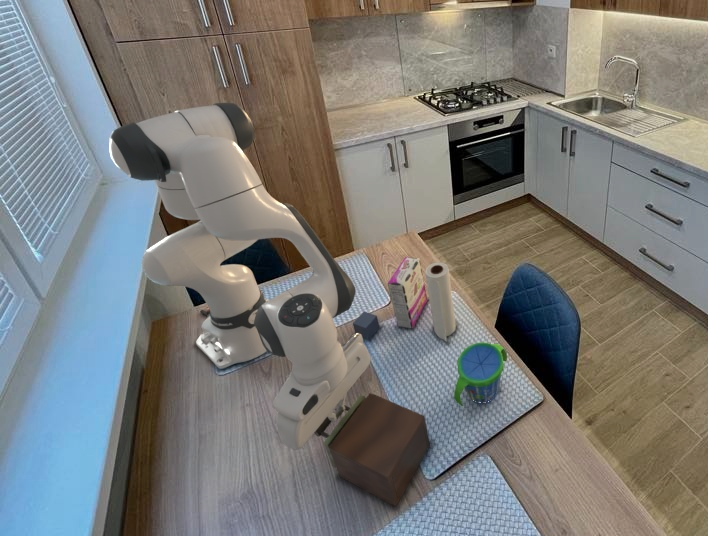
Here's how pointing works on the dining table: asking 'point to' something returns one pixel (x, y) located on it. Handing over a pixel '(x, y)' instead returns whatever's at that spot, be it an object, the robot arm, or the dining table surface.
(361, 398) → the drawer
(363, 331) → the block
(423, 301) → the candy bar box
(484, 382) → the snack cup
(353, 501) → the dining table surface
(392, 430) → the cabinet
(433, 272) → the paper towel roll
